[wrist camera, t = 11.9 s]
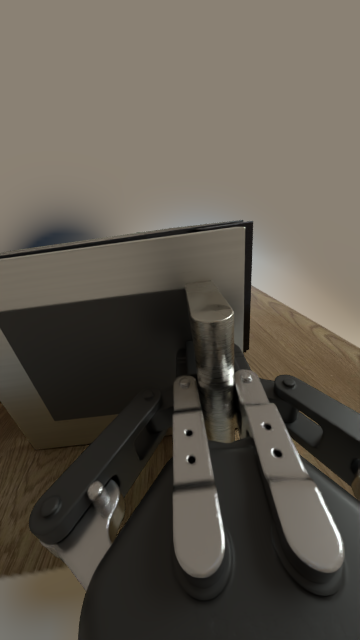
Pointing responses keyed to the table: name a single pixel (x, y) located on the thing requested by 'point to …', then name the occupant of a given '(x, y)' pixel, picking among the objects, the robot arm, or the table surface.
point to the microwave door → (119, 331)
